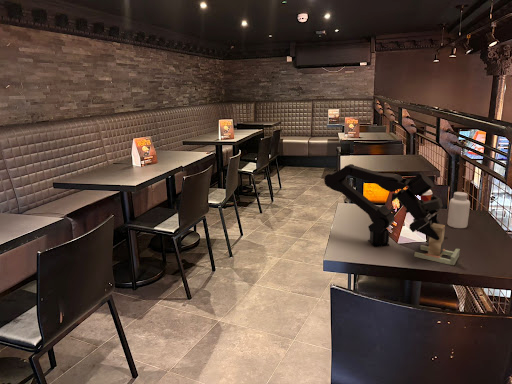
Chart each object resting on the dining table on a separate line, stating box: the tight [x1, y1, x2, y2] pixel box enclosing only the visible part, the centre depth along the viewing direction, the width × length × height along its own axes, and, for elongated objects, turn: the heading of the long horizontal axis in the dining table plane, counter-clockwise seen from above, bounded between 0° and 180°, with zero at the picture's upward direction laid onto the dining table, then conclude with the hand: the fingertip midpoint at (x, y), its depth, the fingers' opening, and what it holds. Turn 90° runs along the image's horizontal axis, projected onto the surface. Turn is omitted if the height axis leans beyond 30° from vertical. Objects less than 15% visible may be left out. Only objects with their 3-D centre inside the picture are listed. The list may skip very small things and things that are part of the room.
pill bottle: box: [447, 191, 471, 229], centre depth 163 cm, size 8×8×15 cm
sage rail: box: [413, 244, 461, 266], centre depth 136 cm, size 13×8×3 cm, turn 51°
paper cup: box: [421, 189, 433, 202], centre depth 174 cm, size 8×8×14 cm
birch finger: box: [427, 223, 446, 258], centre depth 135 cm, size 4×4×12 cm
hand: (440, 236), depth 133 cm, fingers open, 6 cm apart
